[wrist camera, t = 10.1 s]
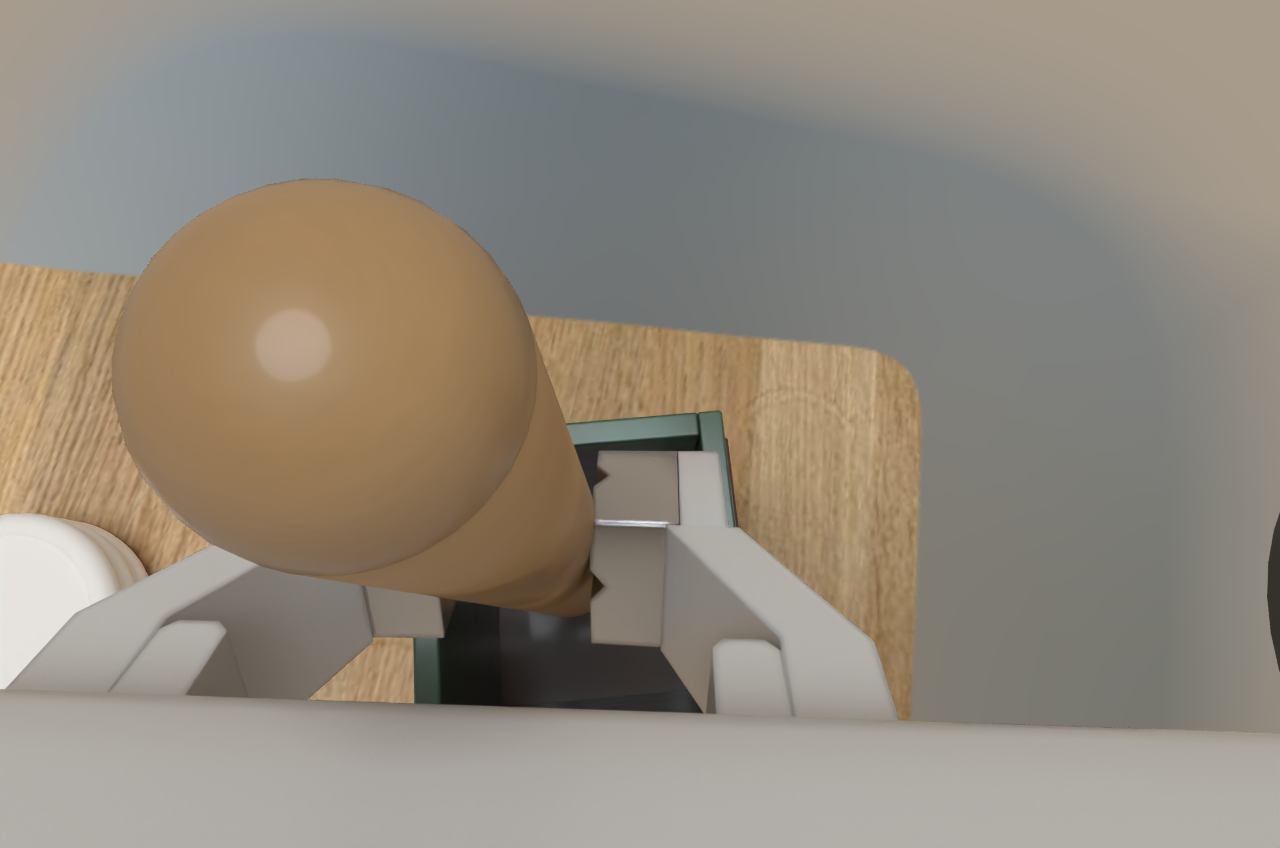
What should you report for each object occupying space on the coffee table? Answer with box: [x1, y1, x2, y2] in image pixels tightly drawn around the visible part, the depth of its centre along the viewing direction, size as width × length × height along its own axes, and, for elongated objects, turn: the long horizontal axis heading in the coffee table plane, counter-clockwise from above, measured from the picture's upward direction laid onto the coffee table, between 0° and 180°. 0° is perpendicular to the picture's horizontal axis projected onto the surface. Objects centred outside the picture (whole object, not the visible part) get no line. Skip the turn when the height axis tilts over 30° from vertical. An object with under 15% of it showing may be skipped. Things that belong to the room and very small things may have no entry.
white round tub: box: [0, 513, 148, 689], centre depth 33 cm, size 10×10×4 cm
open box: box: [413, 411, 738, 713], centre depth 27 cm, size 10×10×18 cm
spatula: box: [112, 179, 595, 617], centre depth 13 cm, size 5×2×21 cm, turn 95°
